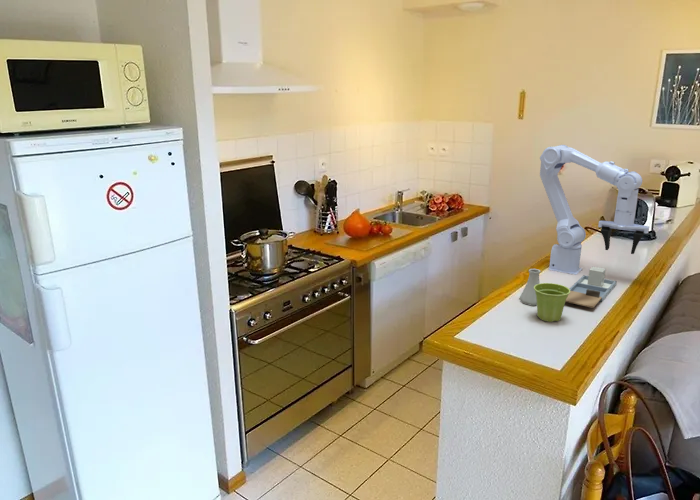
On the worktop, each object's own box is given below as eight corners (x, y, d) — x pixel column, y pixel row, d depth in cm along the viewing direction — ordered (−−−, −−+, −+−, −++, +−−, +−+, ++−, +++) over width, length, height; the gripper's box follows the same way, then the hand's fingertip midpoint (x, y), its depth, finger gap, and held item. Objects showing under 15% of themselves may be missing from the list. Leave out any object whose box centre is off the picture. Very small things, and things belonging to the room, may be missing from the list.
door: (557, 300, 156) (558, 293, 156) (566, 291, 163) (567, 285, 163) (593, 307, 150) (594, 301, 150) (601, 298, 157) (602, 291, 157)
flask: (532, 308, 155) (535, 275, 152) (514, 300, 161) (516, 268, 158) (549, 303, 158) (553, 271, 155) (531, 295, 164) (534, 265, 162)
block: (587, 285, 171) (589, 269, 169) (590, 282, 174) (592, 266, 172) (600, 288, 168) (602, 272, 167) (603, 284, 171) (605, 268, 170)
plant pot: (563, 327, 142) (566, 297, 140) (527, 320, 147) (530, 290, 144) (569, 315, 150) (573, 286, 147) (535, 308, 154) (538, 280, 152)
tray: (566, 296, 164) (566, 291, 163) (582, 279, 178) (583, 275, 178) (601, 303, 158) (602, 298, 157) (615, 285, 172) (616, 281, 172)
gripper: (598, 209, 171) (592, 250, 174) (648, 215, 162) (642, 258, 166) (603, 206, 176) (598, 245, 180) (652, 211, 167) (646, 252, 171)
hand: (619, 251), depth 173 cm, fingers open, 7 cm apart
